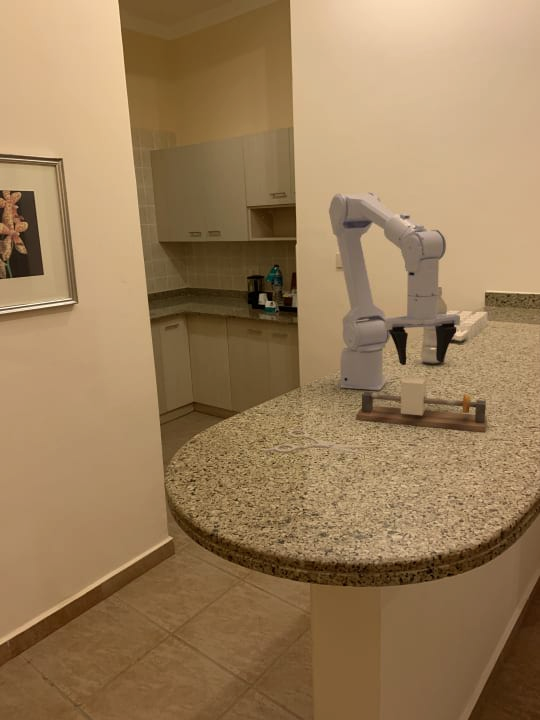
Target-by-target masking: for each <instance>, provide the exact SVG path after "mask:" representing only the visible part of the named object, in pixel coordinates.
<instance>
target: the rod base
mask: <svg viewBox="0 0 540 720" xmlns="http://www.w3.org/2000/svg"><path fill="white" fill-rule="evenodd" d="M462 397H463V398H462V400H456V399H455V400H454V399H453V400H452V399H441V398H429V397H426V398H424V403H426V405H427V404H430V405H441V406H454V407H455V406H457V407H462V413H459V412H451V411H450V412H447V411H436V410H426V409H425V411H424V413H423V415H412V414H401V407H391V406H390V407H389V406H379V405H374V403H373V402H374V401H373V400H377V401H378V400H381V401H392V402H401V395H393V394H392V395H390V394H377V393H374V392H373V391H364V392H363V393H362V394H361V408H360V409H359V410H358V411H357V413H356V414H355V420H359V421H365V422H366V421H367V422H376V423H379V422H380V423H387V424H388V423H390V424H396V425H397V424H399V425H407V426H409V425H410V426H418V427H419V426H420V427H429V428H438V429H439V428H440V429H447V430H448V429H450V430H458V431H459V430H460V431H461V430H462V431H470V432H480V433H485V432H486V428H487V427H486V426H487V417H488V416H487V415H486V406H487V401H486V400H480V399H479V400H477V399H476V401H471V397H470V395H469V394H468V395H467V394H466V395H465V394H464V395H463V396H462ZM470 408H475V413H474V414H473V413H470Z"/></svg>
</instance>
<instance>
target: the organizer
mask: <svg viewBox="0 0 540 720" xmlns="http://www.w3.org/2000/svg"><path fill="white" fill-rule="evenodd" d="M446 314H457V315H460V325H454V327H456V328H457V329H456V333H455V335H454V336H453V338H452V340H455V341H464V340H468V341H469V340H470V341H471V340H472V339H473V338H474V337H475V336H476V335H478V334H479V332H481V331H482V330H483V329H484V328H485V327H486V326H487V325H488V315H489V313H488V311H477V312H474V311H470V310H469V311H467V310H465V311H461V312H460V310H449V311H448V310H447V312H446Z"/></svg>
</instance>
